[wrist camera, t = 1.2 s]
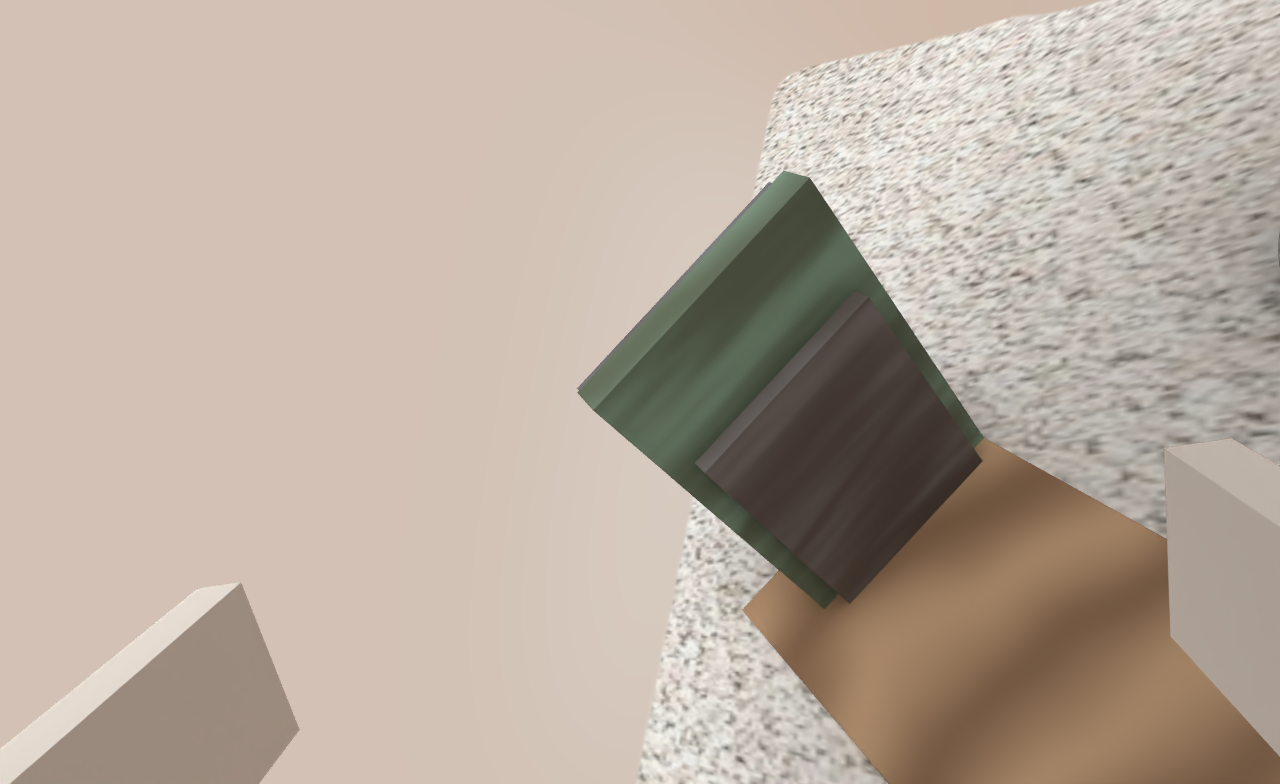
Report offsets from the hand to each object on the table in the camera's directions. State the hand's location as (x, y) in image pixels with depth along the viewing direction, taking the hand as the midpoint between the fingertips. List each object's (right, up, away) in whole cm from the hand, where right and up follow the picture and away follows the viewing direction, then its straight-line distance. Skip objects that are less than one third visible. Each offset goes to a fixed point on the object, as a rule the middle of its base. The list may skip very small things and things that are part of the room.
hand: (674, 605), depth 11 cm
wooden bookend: (+16, -9, +19) cm, 26 cm away
